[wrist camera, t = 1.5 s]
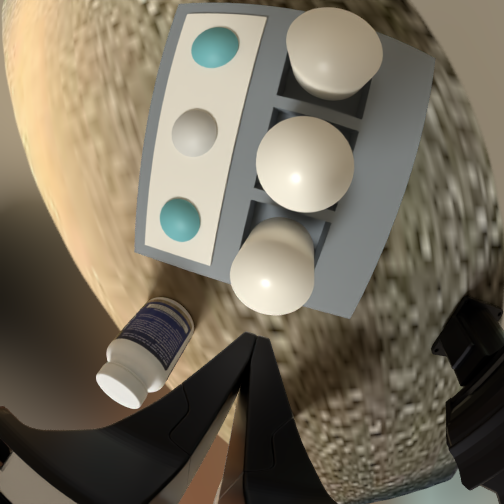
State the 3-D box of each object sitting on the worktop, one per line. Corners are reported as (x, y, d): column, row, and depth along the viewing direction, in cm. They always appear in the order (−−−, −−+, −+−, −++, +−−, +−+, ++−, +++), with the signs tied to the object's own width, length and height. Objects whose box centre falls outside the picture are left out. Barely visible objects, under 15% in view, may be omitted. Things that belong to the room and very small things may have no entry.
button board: (418, 68, 12) (437, 57, 9) (346, 295, 20) (350, 321, 17) (196, 18, 14) (176, 2, 11) (154, 237, 21) (131, 253, 18)
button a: (371, 49, 10) (388, 24, 7) (357, 110, 12) (373, 100, 9) (300, 29, 11) (296, -1, 7) (284, 89, 12) (276, 72, 9)
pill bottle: (143, 288, 24) (79, 355, 15) (195, 303, 23) (142, 385, 14) (148, 331, 26) (98, 397, 17) (195, 346, 25) (153, 423, 17)
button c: (322, 228, 15) (326, 255, 12) (302, 286, 17) (298, 324, 13) (255, 208, 15) (239, 229, 12) (240, 268, 17) (223, 301, 14)
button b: (350, 135, 13) (365, 133, 9) (330, 204, 14) (337, 224, 11) (278, 114, 13) (268, 105, 10) (261, 183, 15) (246, 197, 11)
